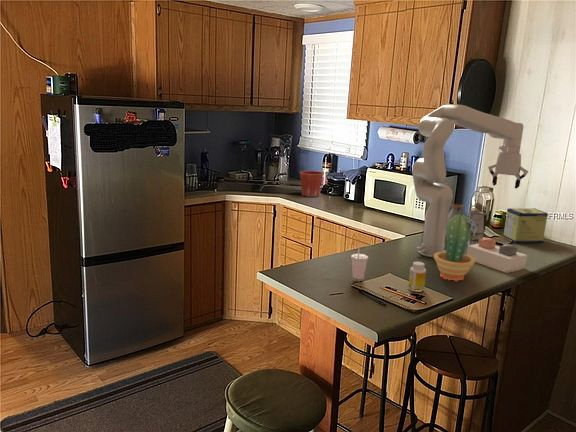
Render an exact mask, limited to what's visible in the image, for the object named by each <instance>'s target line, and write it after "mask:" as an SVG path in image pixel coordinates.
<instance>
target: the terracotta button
mask: <svg viewBox="0 0 576 432" xmlns="http://www.w3.org/2000/svg"><path fill="white" fill-rule="evenodd" d="M496 243H497V241H496V240H494V239H493V238H491V237H484V238H483V239H480V240H479V247H482V248H485V249H488V250H489V249H493V248H495V245H496V246H497V244H496Z"/></svg>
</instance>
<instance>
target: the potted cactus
mask: <svg viewBox="0 0 576 432" xmlns="http://www.w3.org/2000/svg"><path fill="white" fill-rule="evenodd" d="M472 230H473V236H474V235H475V233H476V231H477V228H476V225H475V223H474V221H473V220H471V219H469V217H468V216H466V215H465V214H463V215H462V216H460V215H459V214H458V215H454V216H453V217H452V218H451V219H450V220H449V222H448V223H447V227H446V241H447V244H446V250H445V251H444V252H437V253H435V254H434V257H433V259H434V261H435V262H436V267H437V269H438V270H439V275H440V277H441V278H442V277H443V278H442V279H444V280H447V279H448V281H450V280H454V281H453V282H459V281H458V280H462V281H463V280H465V275H467V273H469V271H470V269H471V268H472V267H473V266H474V264H475V263H476V262H475V260H474V258H473V257H471V256H469V255H467V253H465V250H466V247H467V245H468V244H467V243H468V241H469V239H470V237H471V232H472Z"/></svg>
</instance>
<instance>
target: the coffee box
mask: <svg viewBox="0 0 576 432" xmlns="http://www.w3.org/2000/svg"><path fill="white" fill-rule="evenodd" d="M487 216H488V215H487V213H485V211H483V210H469V217H468V219H471V220H473V221H474V223H475V225H476V228H477V231H476V233H475V235H474V236H473V230H472V232H471V237H470V239H469V241H468V243H467V244H466V245H467V247H468V246H469V245H474V244H479V240H480V239H483V238H485V232H486V225H487V220H488V219H487V218H488V217H487Z"/></svg>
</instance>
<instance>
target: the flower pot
mask: <svg viewBox="0 0 576 432" xmlns="http://www.w3.org/2000/svg"><path fill="white" fill-rule="evenodd" d="M299 174H300V176H299V177H300V181H301V182H300V183H301V184H300V186H301V187H300V188H301V196H302V197H307V198H317V197H320V192H321V185H322V179H323V175H324V172H323V171H317V170H302V171H299Z"/></svg>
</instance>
